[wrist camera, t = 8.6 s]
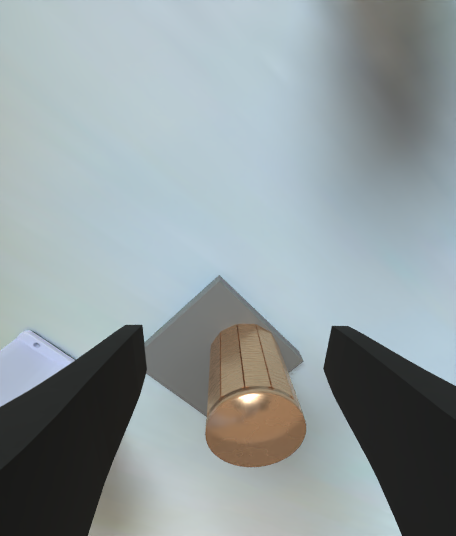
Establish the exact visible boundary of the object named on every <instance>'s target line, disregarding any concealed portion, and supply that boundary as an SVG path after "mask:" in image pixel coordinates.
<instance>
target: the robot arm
mask: <svg viewBox="0 0 456 536" xmlns="http://www.w3.org/2000/svg"><path fill="white" fill-rule="evenodd" d="M38 343H39V344H40V345H39V344H38ZM323 369H324V372H325V375H326V377H327V380H328V383H329V385H330V388H331V390H332V393H333V395H334V397H335V399H336V401H337V403H338V405H339V407H340V408H341V410H342V412H343V414H344V416H345V418H346V420H347V422H348V423H349V425H350V427H351V429H352V431H353V433H354V435H355V436H356V438H357V440H358V442H359V444H360V446H361V448H362V449H363V451H364V453H365V455H366V457H367V459H368V461H369V463H370V465H371V467H372V469H373V471H374V473H375V475H376V477H377V479H378V481H379V483H380V485H381V488H382V490H383V492H384V495H385V497H386V499H387V501H388V504H389V506H390V508H391V510H392V513H393V515H394V517H395V520H396V522H397V524H398V527H399V529H400V532H401V534H402V536H456V386H454V385H452V384H451V383H449V382H447V381H445V380H443V379H441V378H439V377H437V376H436V375H434V374H432V373H430V372H428V371H426V370H424V369H423V368H421V367H419V366H417V365H415V364H414V363H412V362H410V361H408V360H407V359H405V358H403V357H401V356H400V355H398V354H396V353H395V352H393V351H391V350H389V349H388V348H386V347H384V346H383V345H381V344H379V343H378V342H376V341H374V340H372V339H371V338H369V337H367V336H366V335H364V334H362V333H360V332H358V331H357V330H355V329H353V328H351V327H349V326H332V329H331V334H330V338H329V343H328V348H327V353H326V358H325V363H324V368H323ZM146 371H147V364H146V355H145V346H144V336H143V327H142V325H125V326H123V327H122V328H120V329H119V330H117V331H116V332H114V333H113V334H112V335H110V336H109V337H107V338H106V339H105V340H103V341H102V342H101V343H99V344H98V345H96V346H95V347H94V348H92V349H91V350H89V351H88V352H87V353H85V354H84V355H82V356H81V357H79V358H78V359H77V360H74V359H72V358H71V357H69V356H68V355H67V354H65V353H64V352H62V351H61V350H59V349H58V348H56V347H55V346H53V345H52V344H50V343H49V342H47V341H46V340H44V339H43V338H41V337H40V336H38V335H37V334H35V333H34V332H32V331H30V330H25V331H23V332H22V333H20V334H19V335H18V337H17V338H16V339H14V340H13V341H12V342H11V343H9V344H8V345H7V346H5V347H4V348H3V349H1V350H0V536H88V533H89V530H90V527H91V524H92V520H93V517H94V514H95V511H96V508H97V505H98V502H99V499H100V496H101V492H102V489H103V486H104V483H105V481H106V478H107V475H108V473H109V470H110V467H111V465H112V462H113V460H114V457H115V455H116V453H117V450H118V448H119V445H120V443H121V440H122V438H123V436H124V433H125V431H126V428H127V426H128V423H129V421H130V419H131V416H132V414H133V411H134V409H135V406H136V404H137V401H138V399H139V396H140V393H141V389H142V386H143V382H144V379H145V375H146Z"/></svg>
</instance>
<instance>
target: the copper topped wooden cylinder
mask: <svg viewBox="0 0 456 536" xmlns="http://www.w3.org/2000/svg"><path fill="white" fill-rule="evenodd" d="M305 434H306V423H305V419H304V416H303V413H302V410H301V407H300V404H299V402H298V399H297V396H296V393H295V390H294V388H293V385H292V382H291V379H290V377H289V374H288V371H287V368H286V365H285V363H284V360H283V357H282V354H281V352H280V349H279V346H278V344H277V342H276V340H275V338H274V337H273V335H272V333H271V332H270V331H268V330H266V329H264V328H262V327H261V326H259V325H257V324H256V325H255V324H238V325H237V324H235V325H233V326H231V327H229V328H227V329H225V330H222V331H221V332H220V333H219V334H218V336H217V337H216V338H215V340H214V341H213V343H212V344H211V352H210V370H209V388H208V406H207V419H206V433H205V435H206V441H207V444H208V446H209V448H210V449H211V451H212V452H213V453H214V454H215V455H216V456H217V457H219V458H220V459H222V460H223V461H225V462H228V463H230V464H233V465H237V466H243V467H261V466H266V465H271V464H274V463H277V462H279V461H281V460H283V459H285V458H287V457H288V456H290V455H291V454H292V453H294V452H295V451H296V450H297V449H298V448H299V446H300V445H301V443H302V442H303V440H304V437H305Z"/></svg>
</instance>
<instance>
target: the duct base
mask: <svg viewBox="0 0 456 536" xmlns="http://www.w3.org/2000/svg"><path fill="white" fill-rule="evenodd" d="M235 324H237V325H238V324H255V325H256V324H257V325H259V326H261V327H262V328H264V329H266V330H268V331H270V332H271V333H272V335H273V337H274V338H275V340H276V342H277V344H278V346H279V349H280V352H281V354H282V357H283V360H284V363H285V365H286V368H287V371H288V372H289V371H291V370H292V369H294V368H295V367H296V366H298V365H299V364H301V363H302V362H303V359H302V357H301V355H300V353H299V351H298V350H297V349H296V348H295V347H294V346H293V345H292V344H290V343H289V342H288V341H287V340H286V339H285V338H284V337H283V336H282V335H281V334H280V333H279V332H278V331H277V330H276V329H275V328H274V327H273V326H272V325H271V324H270V323H269V322H268V321H267V320H265V319H264V318H263V317H262V316H261V315H260V314H259V313H258V312H257V311H256V310H255V309H254V308H253V307H252V306H251V305H250V304H249V303H248V302H247V301H246V300H245V299H244V298H243V297H241V296H240V295H239V294H238V293H237V292H236V291H235V290H234V289H233V288H232V287H231V286H230V285H229V284H228V283H227V282H226V281H225V280H224V279H223V278H222V277H221V276H220V275H219V276H218V277H217V278H216V279H215V280H213V281H212V282H211V283H210V284H209V285H208V286H207V287H206V288H205V289H203V290H202V291H201V292H200V293H199V294H198V295H197V296H196V297H195V298H193V299H192V300H191V301H190V302H189V303H188V304H187V305H186V306H185V307H184V308H182V309H181V310H180V311H179V312H178V313H177V314H176V315H175V316H174V317H172V318H171V319H170V320H169V321H168V322H167V323H166V324H165V325H164V326H163V327H161V328H160V329H159V330H158V331H157V332H156V333H155V334H154V335H153V336H151V337H150V338H149V339H148V340H147V341H146V342H145V343H144V346H145V355H146V364H147V371H146V373H147V374H148V375H149V376H151V377H152V378H154V379H155V380H156V381H158V382H159V383H161V384H162V385H163V386H165V387H166V388H167V389H169V390H170V391H172V392H173V393H174V394H176V395H177V396H179V397H180V398H181V399H183V400H184V401H186V402H187V403H188V404H190V405H191V406H193V407H194V408H195V409H197V410H198V411H199V412H201V413H202V414H204V415H205V416H206V417H207V406H208V388H209V370H210V352H211V344H212V343H213V341H214V340H215V338H216V337H217V336H218V334H219V333H220V332H221V331H222V330H225V329H227V328H229V327H231V326H233V325H235Z"/></svg>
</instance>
